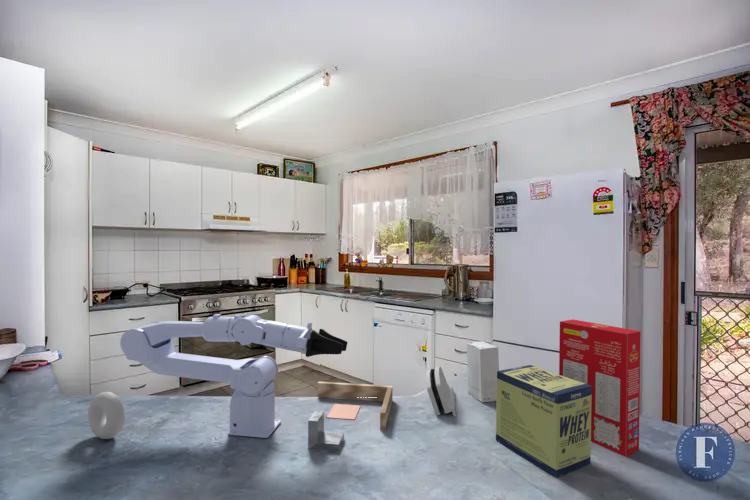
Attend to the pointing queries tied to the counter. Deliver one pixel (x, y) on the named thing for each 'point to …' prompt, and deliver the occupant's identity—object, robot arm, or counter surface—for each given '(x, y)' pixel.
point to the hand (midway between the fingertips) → (344, 347)
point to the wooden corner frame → (359, 395)
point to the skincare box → (482, 370)
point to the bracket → (322, 434)
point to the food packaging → (606, 379)
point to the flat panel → (344, 411)
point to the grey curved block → (440, 392)
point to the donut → (106, 415)
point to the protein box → (544, 418)
